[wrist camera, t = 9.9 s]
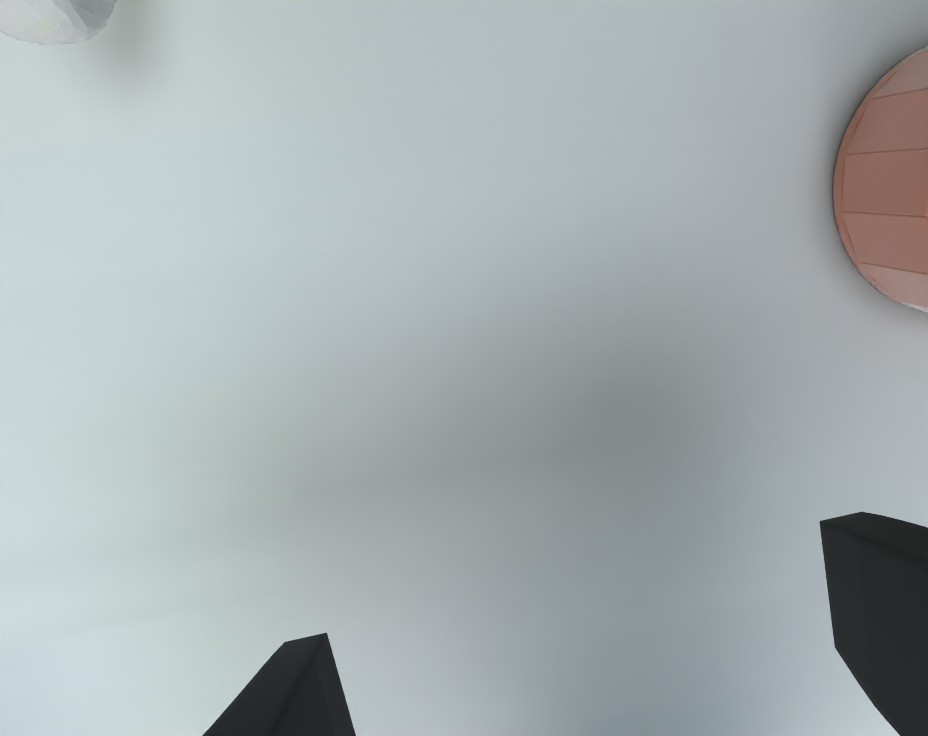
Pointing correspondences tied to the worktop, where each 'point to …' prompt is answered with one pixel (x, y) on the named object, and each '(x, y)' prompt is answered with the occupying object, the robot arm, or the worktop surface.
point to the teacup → (53, 19)
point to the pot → (888, 184)
